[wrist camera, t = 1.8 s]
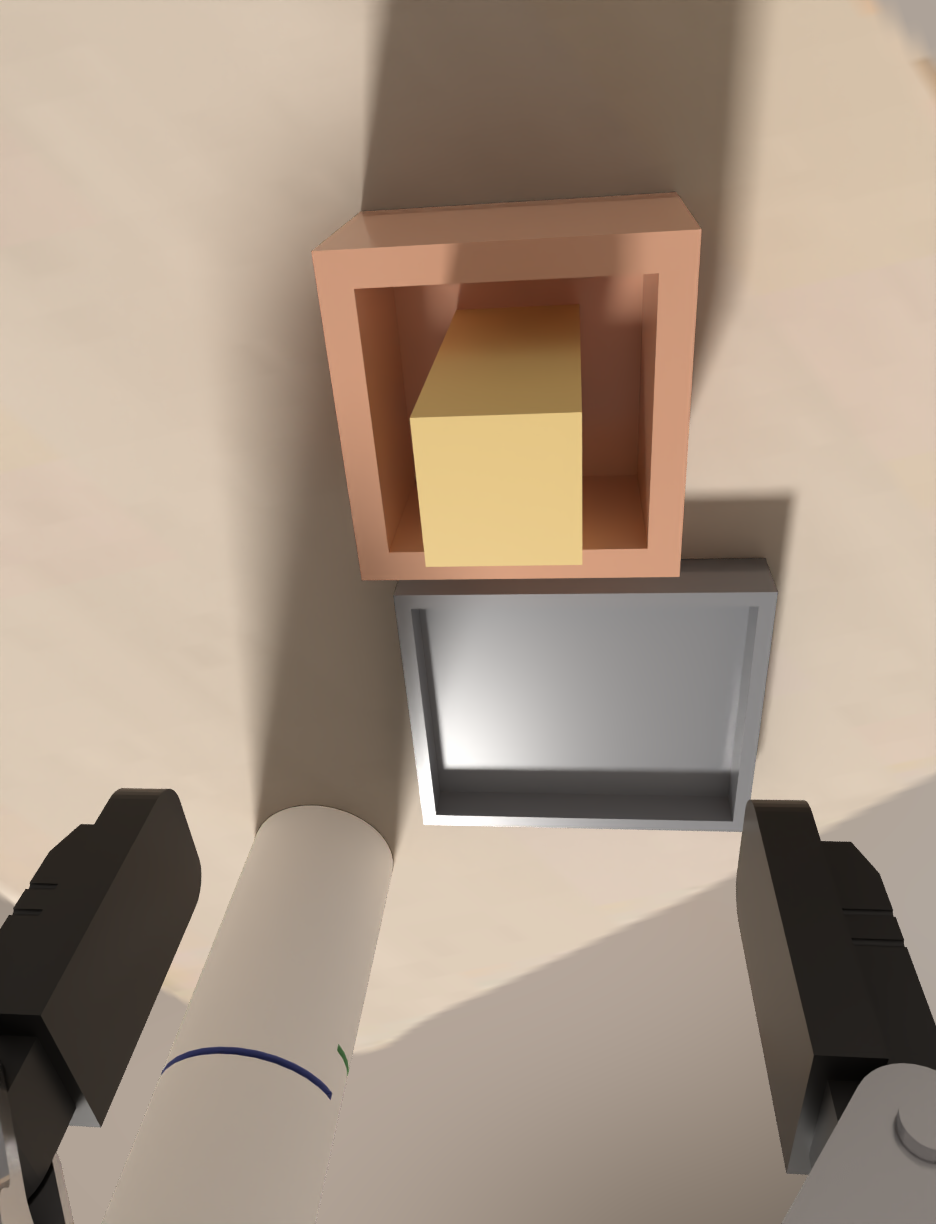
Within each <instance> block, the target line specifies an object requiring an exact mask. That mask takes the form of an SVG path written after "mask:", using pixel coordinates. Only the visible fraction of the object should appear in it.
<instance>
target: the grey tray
mask: <svg viewBox="0 0 936 1224" xmlns="http://www.w3.org/2000/svg"><path fill="white" fill-rule="evenodd" d="M777 595H778V591H777V588H776V586H775V583H774V580H773V578H772V575H771V572H770V569H769V567H768V564H767V561H766V559H765V558H747V559H681V561H680V577H628V578H536V579H445V580H398V583H397V586H396V589H395V592H394V595H393V597H394V604H395V612H396V619H397V627H398V634H399V642H400V649H401V657H402V664H403V672H404V679H405V687H406V694H407V702H408V709H409V717H410V724H411V732H412V739H413V747H414V754H415V762H416V769H417V777H418V784H419V792H420V799H421V807H422V814H423V822H424V825H458V826H503V827H548V828H592V829H637V830H682V831H727V832H742V830H743V823H744V815H745V808H746V804H747V801H748V800H750V799H751V792H752V784H753V777H754V769H755V762H756V754H757V746H758V739H759V731H760V724H761V716H762V709H763V701H764V693H765V686H766V678H767V671H768V663H769V656H770V648H771V640H772V633H773V625H774V618H775V610H776V603H777Z"/></svg>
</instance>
